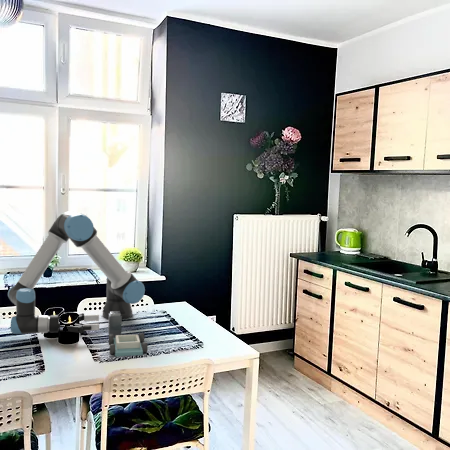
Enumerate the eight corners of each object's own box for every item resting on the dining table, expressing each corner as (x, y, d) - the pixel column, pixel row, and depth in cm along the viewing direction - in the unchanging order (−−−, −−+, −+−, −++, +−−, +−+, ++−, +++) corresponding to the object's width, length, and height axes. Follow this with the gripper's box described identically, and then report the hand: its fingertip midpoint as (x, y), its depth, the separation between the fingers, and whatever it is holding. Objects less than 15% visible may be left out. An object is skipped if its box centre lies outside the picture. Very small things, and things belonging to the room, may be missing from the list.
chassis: (108, 341, 208) (108, 332, 207) (142, 339, 212) (143, 330, 211) (110, 356, 191) (110, 347, 190) (147, 354, 195) (148, 345, 194)
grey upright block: (108, 336, 214) (109, 314, 213) (108, 332, 220) (108, 311, 219) (121, 335, 216) (121, 314, 215) (120, 331, 221) (120, 310, 220)
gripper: (51, 323, 221) (98, 321, 227) (46, 342, 198) (99, 339, 203) (51, 307, 221) (98, 306, 226) (46, 324, 197) (99, 322, 203)
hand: (99, 322), depth 215 cm, fingers open, 13 cm apart
